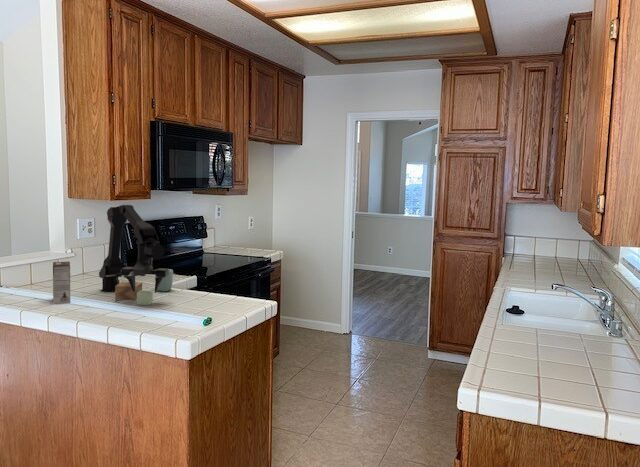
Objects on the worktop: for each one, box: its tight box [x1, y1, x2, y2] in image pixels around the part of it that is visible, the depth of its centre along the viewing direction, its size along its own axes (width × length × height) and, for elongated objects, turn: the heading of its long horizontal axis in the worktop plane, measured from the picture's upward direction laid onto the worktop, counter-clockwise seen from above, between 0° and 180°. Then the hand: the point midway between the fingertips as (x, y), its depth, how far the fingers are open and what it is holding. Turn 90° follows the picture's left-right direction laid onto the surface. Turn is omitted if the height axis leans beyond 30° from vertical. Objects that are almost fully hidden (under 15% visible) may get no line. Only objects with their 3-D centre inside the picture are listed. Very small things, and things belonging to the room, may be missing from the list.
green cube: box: [136, 289, 154, 306], centre depth 207 cm, size 5×5×5 cm
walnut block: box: [114, 281, 143, 301], centre depth 216 cm, size 9×9×6 cm
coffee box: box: [52, 260, 71, 305], centre depth 204 cm, size 9×6×16 cm
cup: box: [154, 268, 174, 293], centre depth 231 cm, size 8×8×10 cm
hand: (144, 292), depth 207 cm, fingers open, 9 cm apart
